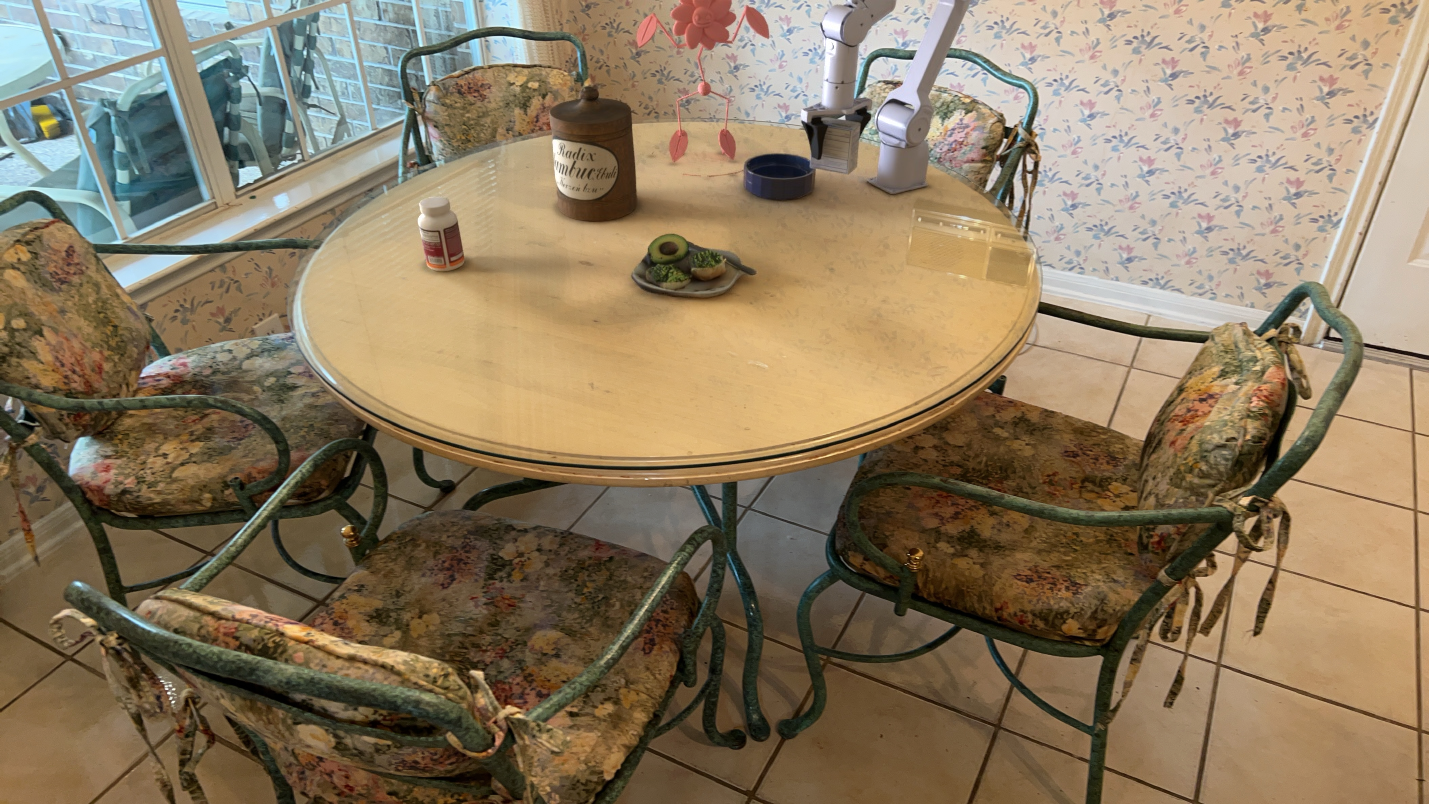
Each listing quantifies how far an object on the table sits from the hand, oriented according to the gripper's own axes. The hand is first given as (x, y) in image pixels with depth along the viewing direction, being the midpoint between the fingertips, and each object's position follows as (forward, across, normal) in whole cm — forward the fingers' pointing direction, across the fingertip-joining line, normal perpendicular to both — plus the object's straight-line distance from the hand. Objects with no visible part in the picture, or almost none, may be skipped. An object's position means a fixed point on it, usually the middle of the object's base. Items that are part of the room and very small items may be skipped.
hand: (833, 154), depth 167 cm
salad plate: (+10, -38, -13) cm, 42 cm away
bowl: (+10, -4, +11) cm, 15 cm away
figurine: (+10, -11, +29) cm, 33 cm away
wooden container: (+10, -39, +20) cm, 45 cm away
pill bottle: (+10, -71, +10) cm, 73 cm away
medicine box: (+3, 0, 0) cm, 3 cm away
